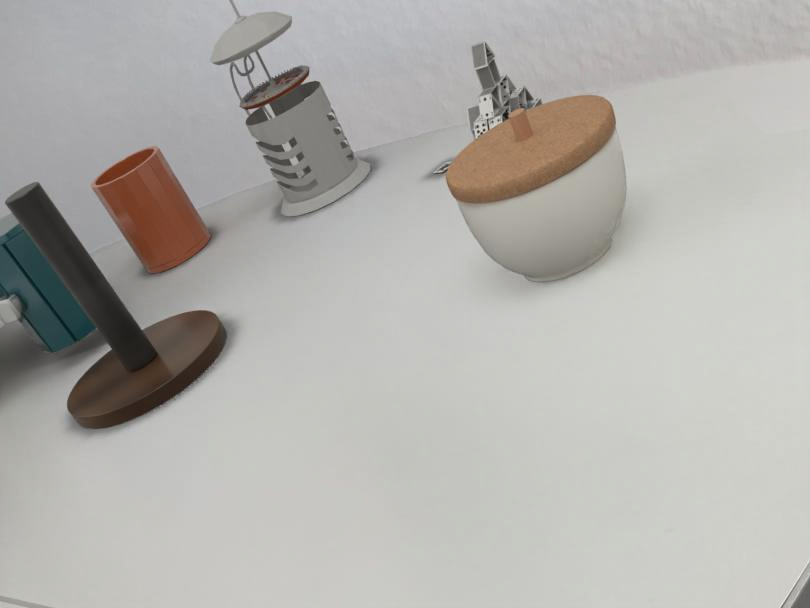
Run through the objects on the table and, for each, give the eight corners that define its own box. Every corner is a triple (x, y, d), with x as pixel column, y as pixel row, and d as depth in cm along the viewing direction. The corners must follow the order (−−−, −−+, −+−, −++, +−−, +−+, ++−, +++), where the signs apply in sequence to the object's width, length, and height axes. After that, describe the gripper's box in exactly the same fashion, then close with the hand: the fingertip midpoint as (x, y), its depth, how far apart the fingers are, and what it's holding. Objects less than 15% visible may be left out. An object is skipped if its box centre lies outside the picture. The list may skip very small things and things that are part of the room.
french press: (310, 220, 91) (147, -91, 74) (256, 212, 99) (99, -69, 83) (389, 162, 93) (248, -151, 77) (330, 159, 101) (192, -124, 85)
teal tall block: (34, 349, 90) (-45, 249, 84) (87, 308, 93) (14, 207, 86) (61, 355, 86) (-21, 251, 80) (116, 312, 88) (42, 207, 82)
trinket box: (606, 196, 68) (562, 55, 62) (676, 238, 60) (633, 80, 54) (471, 272, 69) (414, 139, 63) (522, 324, 61) (462, 177, 55)
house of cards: (469, 127, 91) (435, 39, 86) (553, 103, 86) (523, 8, 81) (431, 176, 86) (392, 85, 81) (518, 153, 81) (483, 55, 76)
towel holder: (51, 415, 82) (-89, 246, 72) (175, 317, 87) (60, 144, 77) (122, 441, 73) (-27, 249, 63) (257, 329, 77) (138, 133, 67)
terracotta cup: (135, 272, 101) (79, 188, 95) (188, 232, 104) (136, 147, 98) (168, 275, 96) (111, 186, 90) (223, 232, 99) (171, 143, 93)
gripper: (-156, 344, 84) (-57, 315, 78) (-13, 222, 96) (83, 188, 89) (-99, 404, 88) (-1, 382, 82) (31, 280, 100) (126, 251, 94)
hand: (44, 279), depth 86 cm, fingers closed on teal tall block, 7 cm apart
